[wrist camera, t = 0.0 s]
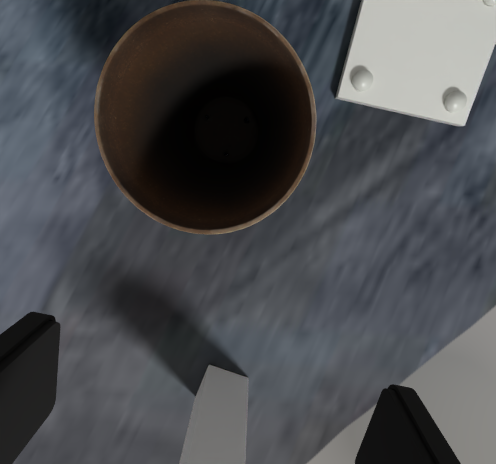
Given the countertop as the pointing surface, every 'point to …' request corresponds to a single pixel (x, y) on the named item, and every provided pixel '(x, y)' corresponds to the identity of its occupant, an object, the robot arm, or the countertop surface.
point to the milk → (218, 420)
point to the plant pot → (194, 117)
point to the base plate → (419, 56)
